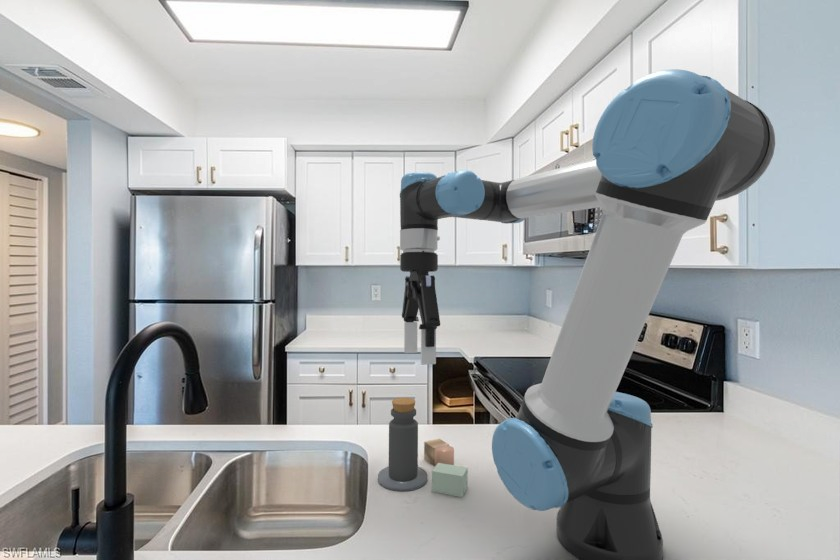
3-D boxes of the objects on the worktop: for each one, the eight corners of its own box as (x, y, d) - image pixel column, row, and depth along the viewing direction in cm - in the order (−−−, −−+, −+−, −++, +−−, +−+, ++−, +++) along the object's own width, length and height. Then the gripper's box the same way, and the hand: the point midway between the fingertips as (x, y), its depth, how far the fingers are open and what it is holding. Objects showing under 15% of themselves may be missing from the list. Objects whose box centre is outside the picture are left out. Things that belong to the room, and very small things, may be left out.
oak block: (448, 462, 95) (449, 444, 95) (433, 466, 93) (433, 447, 93) (439, 456, 99) (439, 438, 99) (424, 459, 97) (424, 441, 97)
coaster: (433, 488, 84) (433, 484, 84) (381, 493, 81) (381, 489, 81) (421, 466, 93) (421, 462, 93) (374, 470, 91) (374, 466, 91)
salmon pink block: (456, 476, 89) (456, 451, 89) (437, 478, 88) (437, 453, 88) (450, 467, 93) (450, 444, 93) (432, 469, 92) (432, 445, 92)
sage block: (462, 497, 80) (462, 476, 80) (431, 492, 82) (431, 471, 82) (467, 487, 84) (467, 467, 84) (438, 482, 86) (438, 462, 86)
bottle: (419, 469, 90) (419, 397, 90) (415, 482, 84) (416, 405, 84) (391, 467, 90) (391, 396, 90) (386, 481, 85) (386, 404, 84)
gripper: (458, 247, 76) (457, 368, 76) (420, 255, 100) (420, 347, 100) (416, 246, 74) (416, 371, 74) (388, 255, 98) (388, 349, 98)
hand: (418, 358), depth 87 cm, fingers open, 13 cm apart
